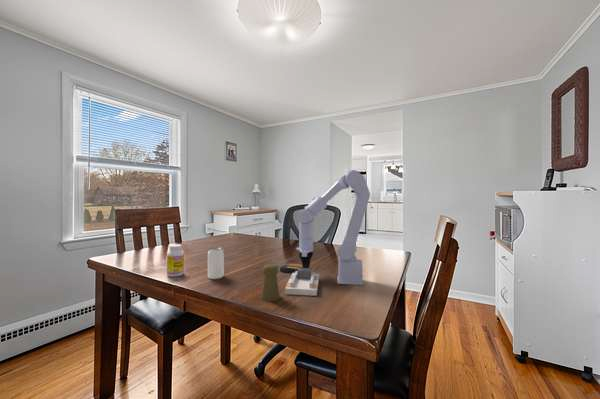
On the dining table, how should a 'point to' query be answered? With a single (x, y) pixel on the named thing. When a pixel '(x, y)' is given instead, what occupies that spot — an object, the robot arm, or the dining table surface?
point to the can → (215, 263)
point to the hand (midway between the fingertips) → (306, 269)
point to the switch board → (302, 285)
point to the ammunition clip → (291, 268)
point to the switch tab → (304, 273)
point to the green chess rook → (270, 283)
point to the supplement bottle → (175, 261)
